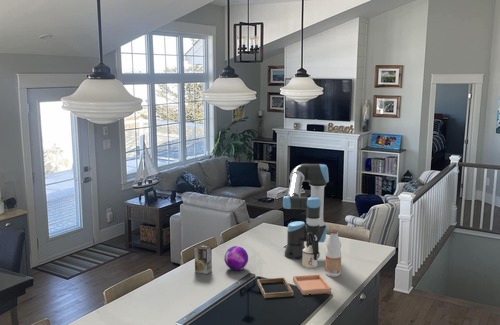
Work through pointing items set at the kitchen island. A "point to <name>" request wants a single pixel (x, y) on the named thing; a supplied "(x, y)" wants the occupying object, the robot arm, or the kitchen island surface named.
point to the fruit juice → (333, 255)
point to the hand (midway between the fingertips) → (311, 261)
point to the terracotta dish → (311, 284)
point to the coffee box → (203, 259)
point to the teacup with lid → (308, 257)
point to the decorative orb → (236, 258)
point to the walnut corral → (277, 294)
